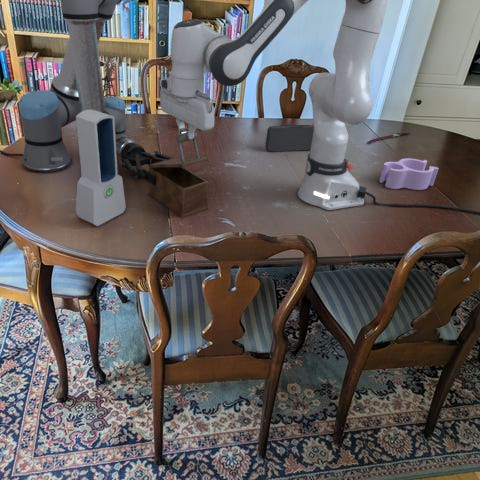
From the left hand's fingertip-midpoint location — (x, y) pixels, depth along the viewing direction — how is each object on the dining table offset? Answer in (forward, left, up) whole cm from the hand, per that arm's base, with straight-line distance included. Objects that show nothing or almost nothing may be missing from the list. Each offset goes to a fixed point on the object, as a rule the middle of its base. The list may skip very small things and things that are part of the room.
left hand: (168, 177), depth 146 cm
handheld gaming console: (+38, +53, -6) cm, 65 cm away
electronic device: (-15, -18, -6) cm, 24 cm away
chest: (+4, -3, -6) cm, 8 cm away
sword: (+82, +83, -6) cm, 117 cm away
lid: (+4, -3, +6) cm, 8 cm away
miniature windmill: (-37, +49, -6) cm, 62 cm away
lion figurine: (-5, +63, -6) cm, 64 cm away
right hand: (+6, -5, +16) cm, 18 cm away
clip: (+81, +35, -6) cm, 89 cm away
